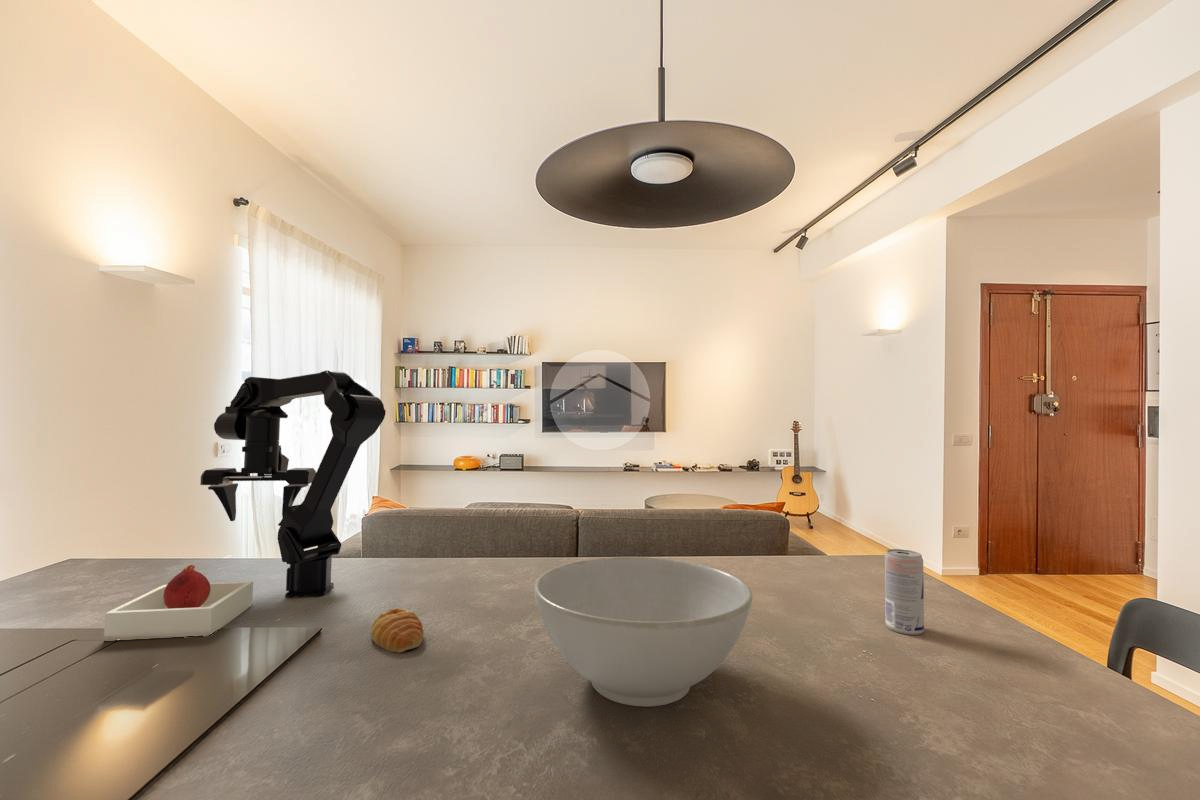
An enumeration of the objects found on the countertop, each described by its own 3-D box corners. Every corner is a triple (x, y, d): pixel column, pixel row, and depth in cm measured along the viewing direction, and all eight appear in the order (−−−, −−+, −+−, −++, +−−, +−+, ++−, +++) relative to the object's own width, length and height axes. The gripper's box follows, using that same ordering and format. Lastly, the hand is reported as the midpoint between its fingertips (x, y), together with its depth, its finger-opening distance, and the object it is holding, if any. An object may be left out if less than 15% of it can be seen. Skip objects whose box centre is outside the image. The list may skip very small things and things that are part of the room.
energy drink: (921, 626, 86) (920, 551, 87) (926, 638, 81) (925, 558, 82) (884, 620, 88) (883, 547, 89) (886, 632, 83) (885, 554, 84)
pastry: (435, 647, 76) (435, 620, 76) (386, 661, 72) (387, 632, 72) (411, 627, 83) (411, 602, 83) (366, 638, 79) (366, 612, 79)
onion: (189, 623, 81) (191, 570, 81) (152, 622, 81) (154, 569, 81) (217, 610, 87) (219, 560, 87) (182, 609, 87) (185, 559, 87)
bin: (252, 604, 92) (253, 581, 92) (210, 636, 78) (211, 608, 79) (162, 608, 89) (164, 584, 89) (103, 641, 76) (105, 613, 76)
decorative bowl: (547, 635, 80) (548, 554, 81) (726, 640, 79) (726, 558, 80) (512, 741, 54) (515, 619, 54) (782, 750, 53) (782, 626, 53)
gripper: (325, 439, 115) (322, 512, 115) (228, 439, 112) (225, 514, 111) (308, 442, 105) (305, 522, 104) (200, 441, 101) (196, 524, 100)
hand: (259, 520), depth 105 cm, fingers open, 9 cm apart
